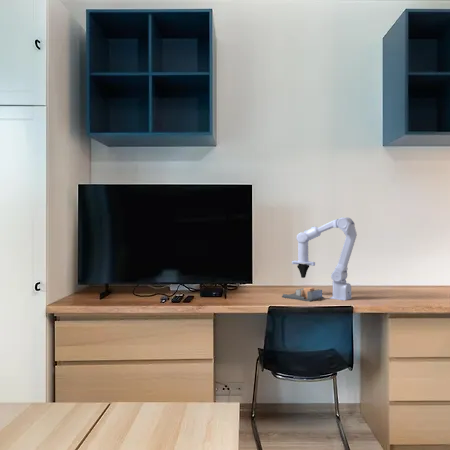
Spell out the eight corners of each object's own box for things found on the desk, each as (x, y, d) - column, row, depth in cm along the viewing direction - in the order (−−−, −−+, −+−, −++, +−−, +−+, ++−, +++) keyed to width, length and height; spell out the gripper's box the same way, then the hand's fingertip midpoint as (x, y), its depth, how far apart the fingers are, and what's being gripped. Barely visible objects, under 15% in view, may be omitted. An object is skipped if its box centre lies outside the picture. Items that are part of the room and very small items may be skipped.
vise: (323, 298, 236) (323, 289, 236) (310, 301, 227) (309, 292, 227) (295, 294, 249) (295, 286, 249) (281, 297, 240) (281, 288, 240)
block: (314, 297, 235) (314, 288, 235) (310, 298, 232) (310, 288, 232) (308, 296, 238) (308, 287, 238) (303, 297, 235) (303, 288, 235)
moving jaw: (311, 295, 240) (311, 288, 240) (300, 297, 233) (300, 290, 233) (306, 294, 242) (306, 287, 242) (296, 297, 235) (295, 289, 235)
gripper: (318, 253, 244) (318, 278, 244) (296, 252, 254) (297, 275, 254) (310, 254, 239) (311, 279, 239) (289, 253, 249) (289, 277, 249)
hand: (303, 277), depth 246 cm, fingers closed
